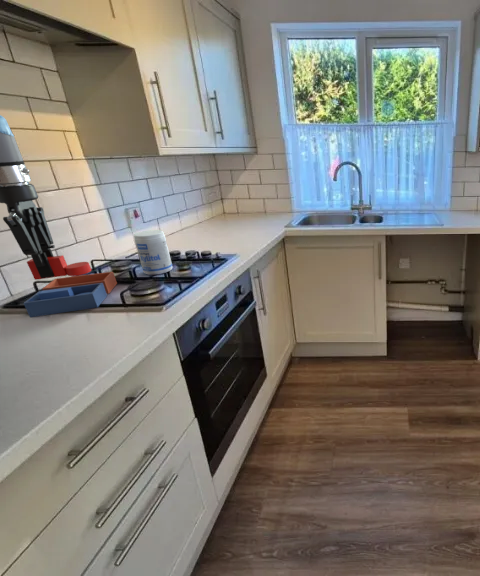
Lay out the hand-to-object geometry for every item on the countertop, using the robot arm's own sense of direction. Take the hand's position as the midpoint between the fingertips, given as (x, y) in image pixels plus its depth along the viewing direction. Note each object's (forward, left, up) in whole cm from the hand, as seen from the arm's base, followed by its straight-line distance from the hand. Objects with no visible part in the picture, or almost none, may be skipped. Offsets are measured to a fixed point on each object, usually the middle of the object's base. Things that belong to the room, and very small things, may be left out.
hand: (50, 274), depth 96 cm
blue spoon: (-2, +9, -12) cm, 16 cm away
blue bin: (-2, +9, -13) cm, 16 cm away
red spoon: (+3, 0, 0) cm, 3 cm away
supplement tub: (+17, +33, -13) cm, 39 cm away
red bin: (-2, +20, -13) cm, 24 cm away
